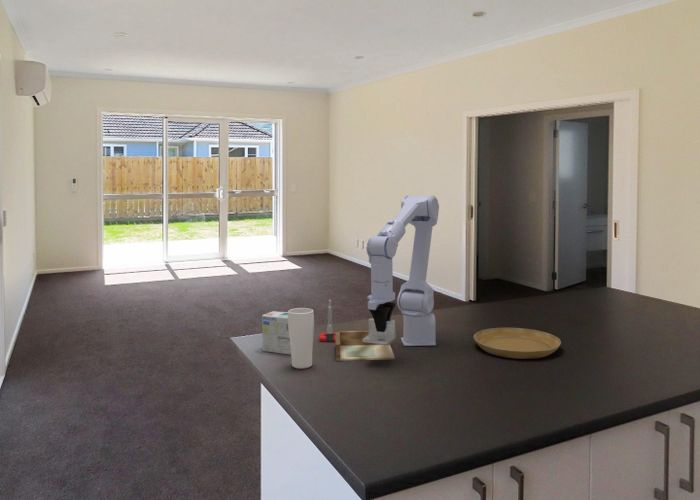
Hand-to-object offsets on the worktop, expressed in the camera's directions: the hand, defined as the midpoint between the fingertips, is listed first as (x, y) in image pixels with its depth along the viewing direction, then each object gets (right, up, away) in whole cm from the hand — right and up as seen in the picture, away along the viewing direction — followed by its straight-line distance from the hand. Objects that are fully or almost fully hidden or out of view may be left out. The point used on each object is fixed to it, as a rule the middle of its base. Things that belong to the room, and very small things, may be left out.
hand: (382, 330), depth 155 cm
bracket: (-1, -2, -2) cm, 3 cm away
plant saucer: (+39, -7, +11) cm, 41 cm away
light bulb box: (-28, -8, +12) cm, 31 cm away
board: (-5, -7, +8) cm, 12 cm away
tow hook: (-14, -6, +24) cm, 29 cm away
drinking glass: (-21, -9, -3) cm, 23 cm away
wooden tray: (-5, -7, +8) cm, 12 cm away
